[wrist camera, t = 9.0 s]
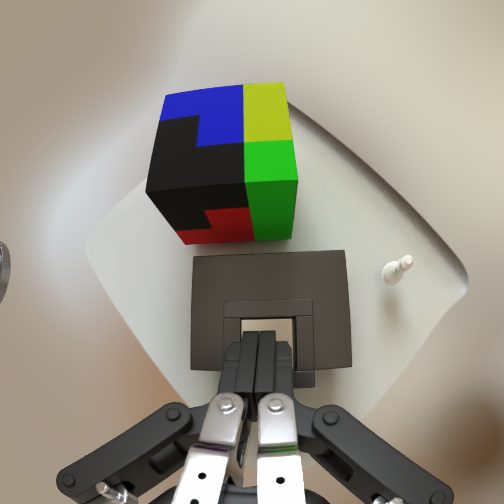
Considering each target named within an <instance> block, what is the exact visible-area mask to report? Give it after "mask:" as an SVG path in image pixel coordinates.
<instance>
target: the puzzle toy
mask: <svg viewBox="0 0 504 504" xmlns="http://www.w3.org/2000/svg"><path fill="white" fill-rule="evenodd" d="M297 186H298V174H297V167H296V159H295V152H294V145H293V138H292V131H291V124H290V118H289V111H288V105H287V99H286V93H285V88H284V83H283V82H281V83H259V84H245V85H233V86H223V87H215V88H207V89H199V90H193V91H186V92H180V93H174V94H169V95H166V96H165V100H164V104H163V108H162V112H161V116H160V120H159V124H158V129H157V133H156V138H155V143H154V147H153V152H152V157H151V162H150V168H149V173H148V178H147V184H146V190H145V192H146V194H147V195H148V197H149V198H150V199H151V201H152V202H153V203H154V204H155V206H156V207H157V208H158V210H159V211H160V212H161V214H162V215H163V216H164V218H165V219H166V220H167V222H168V223H169V224H170V225H171V227H172V228H173V229H174V231H175V232H176V233H177V234H178V236H179V237H180V238H181V240H182V241H183V242H184V243H185V245H191V244H208V243H226V242H244V241H264V240H283V239H291V236H292V228H293V220H294V212H295V203H296V194H297Z"/></svg>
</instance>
